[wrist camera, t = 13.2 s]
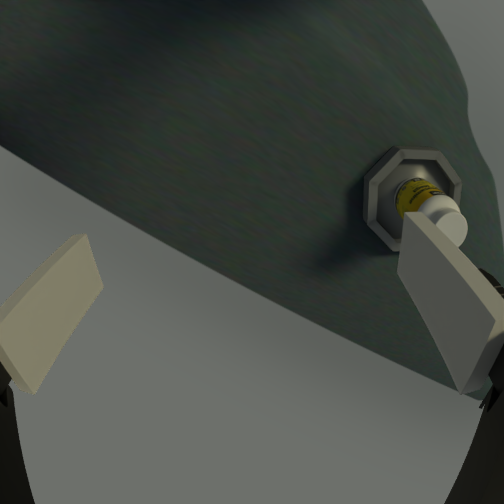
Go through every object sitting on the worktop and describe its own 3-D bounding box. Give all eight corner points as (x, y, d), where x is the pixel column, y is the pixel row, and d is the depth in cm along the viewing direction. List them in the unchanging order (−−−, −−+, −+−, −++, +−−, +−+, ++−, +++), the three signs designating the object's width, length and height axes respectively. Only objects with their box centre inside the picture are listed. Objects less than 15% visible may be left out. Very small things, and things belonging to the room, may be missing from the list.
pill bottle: (427, 169, 37) (470, 197, 27) (435, 210, 39) (475, 247, 30) (387, 184, 38) (422, 216, 29) (397, 225, 41) (430, 266, 31)
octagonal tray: (363, 145, 37) (369, 148, 35) (455, 148, 36) (464, 152, 34) (361, 245, 44) (365, 253, 42) (445, 240, 42) (452, 247, 40)
